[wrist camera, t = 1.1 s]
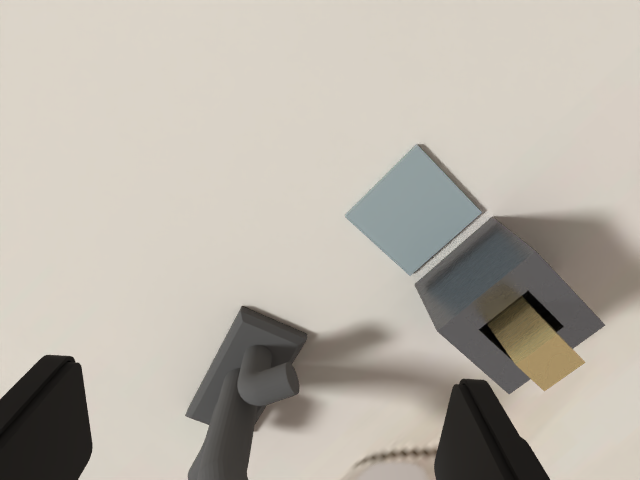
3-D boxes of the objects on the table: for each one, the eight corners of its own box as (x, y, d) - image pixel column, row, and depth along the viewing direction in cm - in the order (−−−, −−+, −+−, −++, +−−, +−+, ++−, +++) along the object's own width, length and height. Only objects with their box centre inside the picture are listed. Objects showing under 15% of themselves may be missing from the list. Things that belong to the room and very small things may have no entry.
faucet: (296, 452, 56) (288, 642, 37) (185, 412, 53) (117, 596, 34) (363, 354, 50) (394, 521, 31) (243, 303, 47) (198, 454, 28)
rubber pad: (416, 144, 40) (417, 145, 40) (479, 210, 43) (482, 212, 42) (344, 215, 43) (345, 217, 42) (408, 273, 46) (409, 275, 45)
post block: (492, 216, 43) (535, 250, 35) (552, 279, 46) (605, 325, 38) (414, 284, 46) (437, 331, 38) (475, 339, 49) (509, 394, 41)
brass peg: (494, 267, 43) (557, 334, 32) (516, 289, 44) (585, 362, 33) (464, 291, 44) (515, 364, 33) (487, 313, 45) (544, 391, 34)
